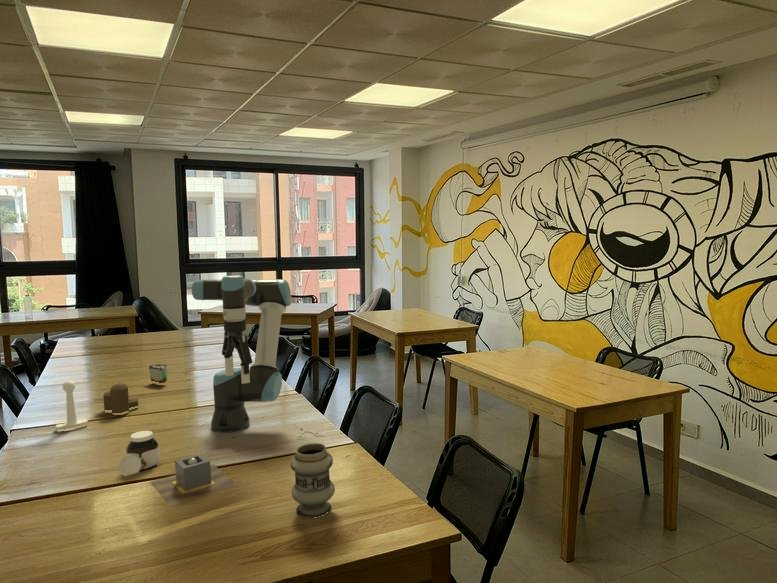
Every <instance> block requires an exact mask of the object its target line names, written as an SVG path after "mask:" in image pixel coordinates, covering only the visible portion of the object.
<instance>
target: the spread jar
mask: <svg viewBox="0 0 777 583" xmlns="http://www.w3.org/2000/svg"><path fill="white" fill-rule="evenodd" d="M125 449H126V451H125V455H126V456H124V457H122V458H121V460H120V462H119V464H118V465H119V466H118V469H119V472H120V474H121V475H122V476H124V477H127V476H130V475H134V474H137V473H142V472H144V471H145V472H146V471H149V470H152V468H153V469H154V468H155V467H156V466H157V465H158V464H159V461H160V445H159V442H158V441H157V439H155V438H154V434H153V432H152V431H150V430H141V431H136V432H133V433H132V434H131V435H130V442H129V443H128V444H127V446H126V448H125Z"/></svg>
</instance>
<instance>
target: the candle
mask: <svg viewBox="0 0 777 583" xmlns="http://www.w3.org/2000/svg"><path fill="white" fill-rule="evenodd" d="M135 406H138V407H139V398H129V386H128V385H127V384H126V383H121V381H120V380H118V383H117V384H116V383H115V384H113V385H112V386H111V387H110V390H108V391H105V392H104V393H103V408H104V410H112V413H122V412H125V411H129V408H131V407H135ZM112 413H111V414H112Z"/></svg>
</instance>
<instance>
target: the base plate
mask: <svg viewBox="0 0 777 583" xmlns="http://www.w3.org/2000/svg"><path fill="white" fill-rule="evenodd" d="M210 467H211V483H210V484H207V485H204V486H201V487H197V488H194V489H191V490H188V491H184V490H183V489H182V488H181V487H180V485H179V484H178V483H177V482H176V474H174V475H170V476H166V477H163V478H159V479H156V480H153V481H150V484H151V485H152V486H153V487H154V489H155V490H156V491H157V492H158V493H159V494H160V496H162V498H163V499H164V500H165V501H166V503H167V504H168V505H169V506H170V507H173V506H177V505H178V504H179V505H180V504H183V503H185V502H189V501H192V500H196V499H198V498H201V497H205V496H207V495H211V494H213V493H217V492H220V491H223V490H226V489H229V488H230V489H231V488H233V487H235V486H238V485H239V483H237V482H236V481H234V480H233V479H232V478H231V477H229V476H228V475H227V474H226V473H224V471H222V470H221V469H220V468H218V467H217V465H215V464H214V463H212V464H211V463H210Z"/></svg>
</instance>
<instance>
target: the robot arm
mask: <svg viewBox="0 0 777 583" xmlns="http://www.w3.org/2000/svg"><path fill="white" fill-rule="evenodd" d="M191 295H192V298H193V299H195V300H196V301H222V312H221V313H222V315H223V331H224V332H223V333H224V335H223V336H224V337H223V345H222V349H221V355H222V356H223V358H224V367H225V368H224V370H220V371H218V372H217V373H215V374H214V376H213V381H212V383H213V384H212V387H213V400H214V402H213V403H214V410H213V414H212V417H211V422H210V429H211V431H213V432H216V433H234V432H238V431H242V430H244V429H246V428H248V427H249V426H250V424H251V423H250V417H249V414H248V412H247V409H246V406H245V402H246V403H247V402H248V403H249V402H250V403H252V402H253V403H261V402H262V403H267V402H274V401H276V400H278V398H279V396H280V394H281V390H282V387H283V386H282V385H283V377H282V376H283V375H282V374H281V372H279V368H278V367H277V366H276V364H277V354H278V347H279V337H280V330H281V324H282V322H281V321H282V316H283V315H282V314H284V313H285V312H286V310H287V307H289V306H291V305H292V293H291V288H290V284H289V282H288V281H287V280H286V279H278V278H276V279H250V278H248V277H247V278H244V276H243V275H226V276H225V275H224V276H223V277H222V278H221V279H197V280H196V279H195V280H194V281H193V282H192V285H191ZM246 306H251V307H258V309H259V310H260V312H261V314H260V320H259V327H258V335H257V343H256V349H255V357H254V361H253V359H252V355H251V351H250V346H249V342H248V336H247V335H243V332H245V331H246V330H247V324H246V323H247V320H246V319H247V318H246V317H247V315H246V314H247V313H246V311H247V310H246ZM234 350H236V351H237V354H238V357H239V361H240V362H241V363H240V367H234V359H233V358H234V355H233V354H234ZM253 362H254V363H253ZM250 364H252V365H251V366H250Z"/></svg>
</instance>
